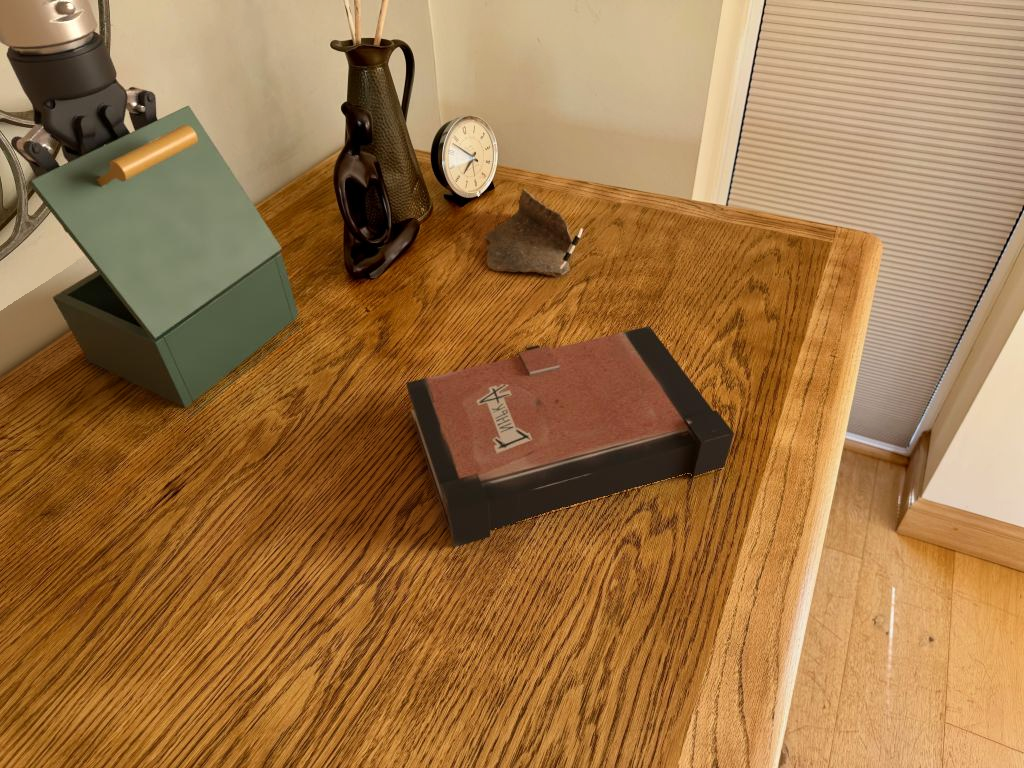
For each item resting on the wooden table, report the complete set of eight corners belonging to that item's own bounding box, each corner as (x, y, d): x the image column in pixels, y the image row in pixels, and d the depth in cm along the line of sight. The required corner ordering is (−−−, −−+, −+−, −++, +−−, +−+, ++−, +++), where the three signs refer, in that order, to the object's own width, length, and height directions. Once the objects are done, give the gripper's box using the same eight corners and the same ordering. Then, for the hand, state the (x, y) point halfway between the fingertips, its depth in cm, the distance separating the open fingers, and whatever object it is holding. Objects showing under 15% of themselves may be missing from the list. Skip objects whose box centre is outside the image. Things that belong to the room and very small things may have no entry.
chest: (93, 370, 80) (51, 297, 73) (209, 289, 90) (183, 218, 83) (189, 417, 74) (155, 343, 67) (301, 325, 85) (281, 252, 78)
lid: (27, 182, 60) (52, 163, 56) (185, 107, 71) (215, 87, 67) (151, 339, 67) (181, 332, 63) (278, 249, 78) (311, 239, 74)
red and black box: (641, 354, 80) (646, 318, 77) (723, 469, 68) (734, 433, 64) (409, 410, 74) (404, 374, 71) (454, 547, 62) (449, 512, 59)
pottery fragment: (478, 264, 103) (457, 238, 99) (537, 209, 103) (517, 182, 99) (537, 317, 90) (515, 291, 87) (604, 255, 90) (584, 225, 86)
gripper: (-20, 82, 54) (107, 327, 70) (166, 15, 65) (238, 240, 81) (-78, 66, 57) (57, 305, 73) (110, 4, 67) (191, 223, 84)
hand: (152, 270), depth 77 cm, fingers closed on peg, 4 cm apart
